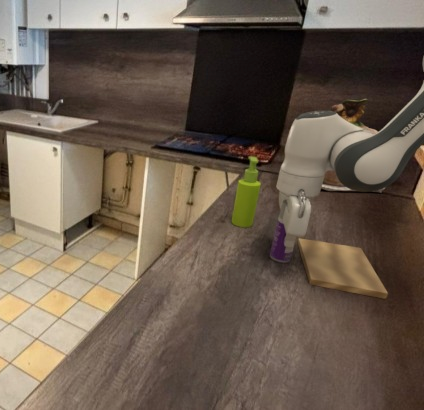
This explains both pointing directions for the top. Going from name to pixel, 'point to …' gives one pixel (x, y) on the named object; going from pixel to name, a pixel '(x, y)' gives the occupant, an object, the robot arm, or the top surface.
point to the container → (281, 240)
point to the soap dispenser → (246, 196)
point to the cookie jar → (352, 113)
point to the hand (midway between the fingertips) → (285, 236)
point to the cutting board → (340, 268)
